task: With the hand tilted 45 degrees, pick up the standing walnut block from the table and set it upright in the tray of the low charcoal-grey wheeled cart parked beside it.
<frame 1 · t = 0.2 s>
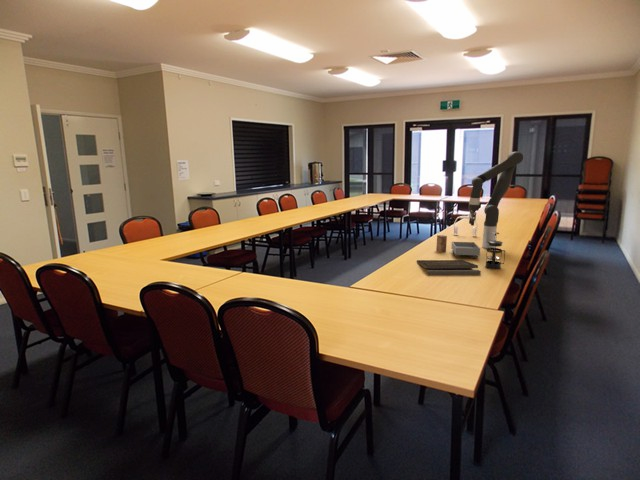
hand: (471, 224, 317), 18 cm above the table, tool pointing down, fingers open, 8 cm apart
headset: (464, 235, 364), on the table
walnut block: (441, 251, 308), on the table
parts cart: (464, 255, 294), on the table
french press: (493, 267, 264), on the table
shutter: (446, 269, 263), on the table
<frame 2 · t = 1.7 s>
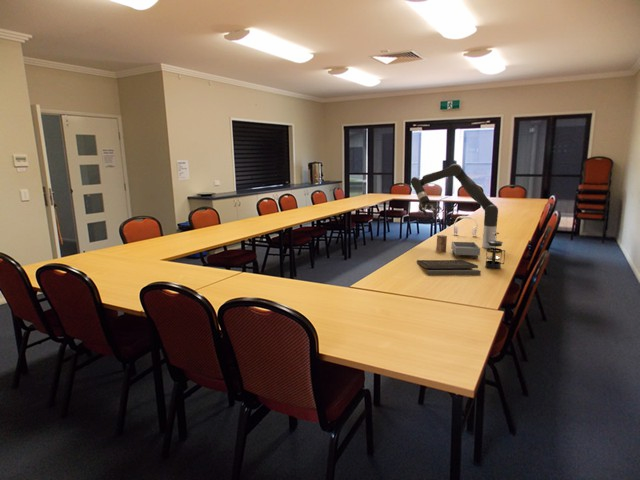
hand: (431, 215, 316), 25 cm above the table, tool tilted 45°, fingers open, 8 cm apart
nothing on the table moved.
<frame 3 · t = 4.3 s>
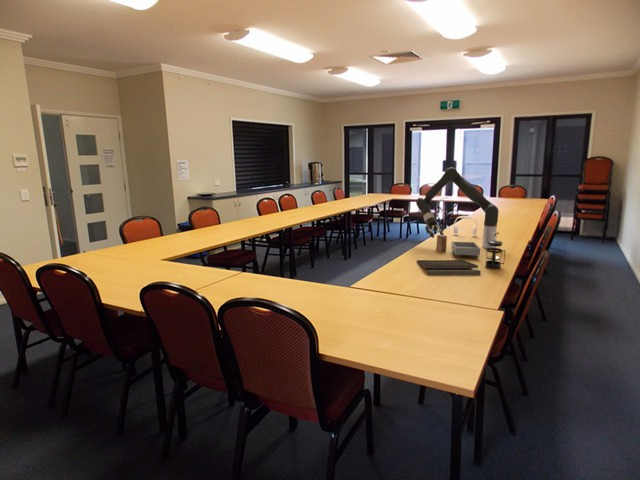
hand: (438, 236, 310), 10 cm above the table, tool tilted 45°, fingers open, 8 cm apart
nothing on the table moved.
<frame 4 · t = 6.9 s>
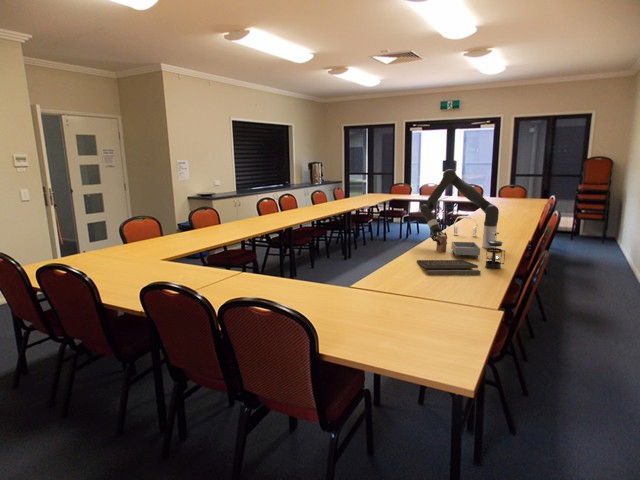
hand: (443, 244, 305), 5 cm above the table, tool tilted 45°, fingers closed on walnut block, 5 cm apart
walnut block: (441, 251, 308), on the table, touching gripper
everything else where it was.
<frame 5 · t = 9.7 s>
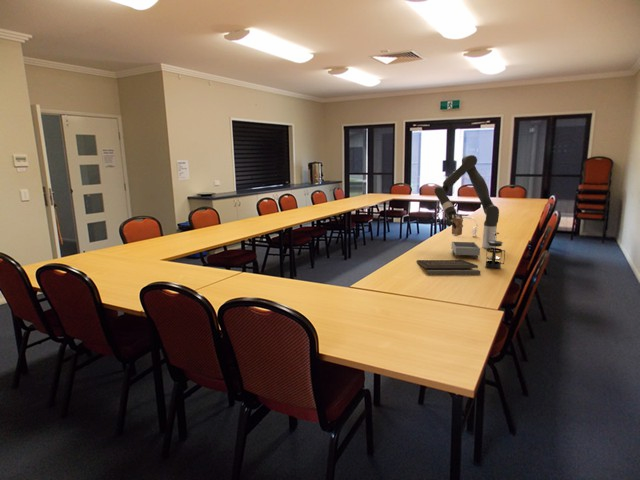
hand: (458, 227, 294), 20 cm above the table, tool tilted 45°, fingers closed on walnut block, 5 cm apart
walnut block: (456, 234, 296), point 15 cm above the table, touching gripper
everything else where it was.
when the fingers open (12 cm above the table, at t = 13.0 s): walnut block drops 1 cm, resting on parts cart.
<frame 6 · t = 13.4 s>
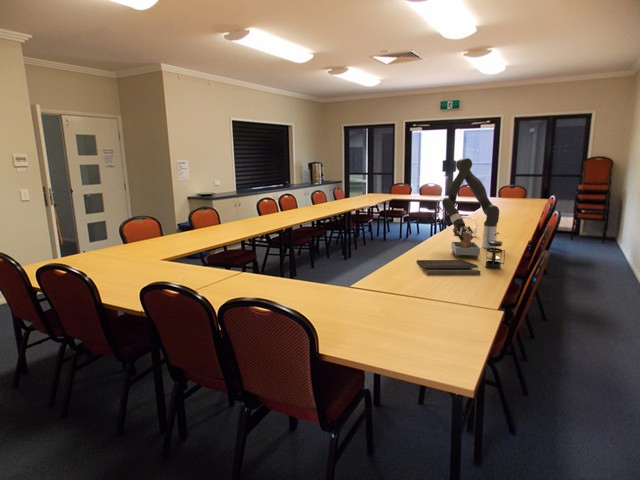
hand: (467, 239, 290), 12 cm above the table, tool tilted 45°, fingers open, 8 cm apart
walnut block: (465, 248, 293), point 5 cm above the table, touching parts cart
everything else where it was.
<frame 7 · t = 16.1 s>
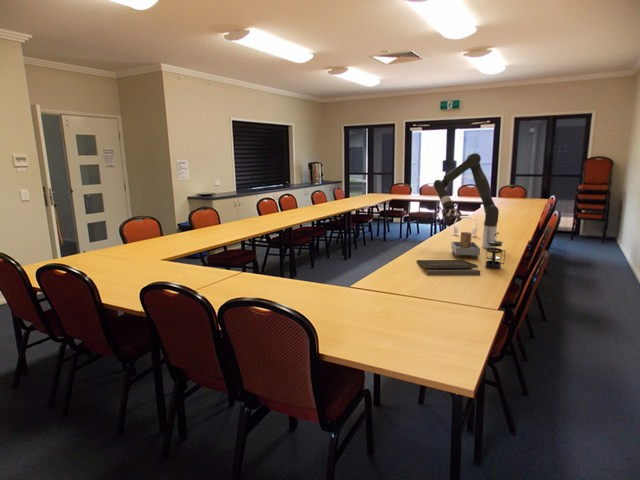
hand: (455, 221, 302), 23 cm above the table, tool tilted 40°, fingers open, 8 cm apart
nothing on the table moved.
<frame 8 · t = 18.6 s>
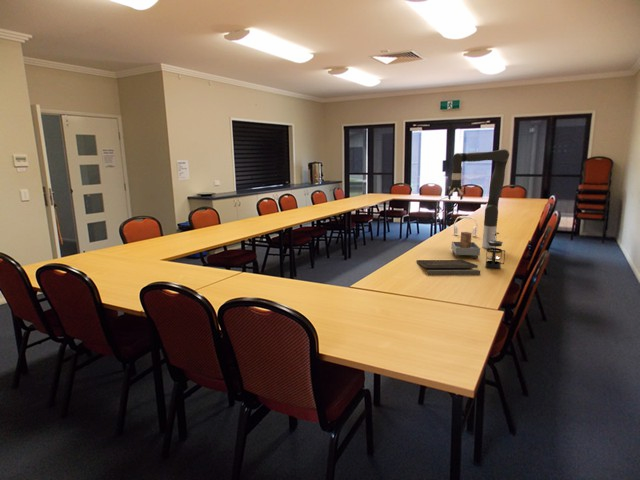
hand: (455, 199, 323), 36 cm above the table, tool pointing down, fingers open, 8 cm apart
nothing on the table moved.
at the end: walnut block inside the target area on the parts cart (0.0 cm from its centre), point 5.0 cm above the parts cart's base; walnut block tilted 0°; the gripper is holding nothing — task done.
